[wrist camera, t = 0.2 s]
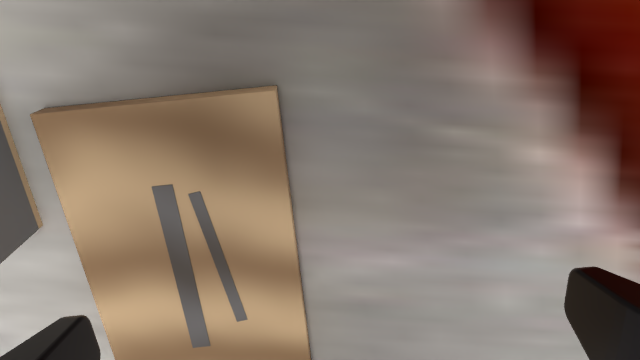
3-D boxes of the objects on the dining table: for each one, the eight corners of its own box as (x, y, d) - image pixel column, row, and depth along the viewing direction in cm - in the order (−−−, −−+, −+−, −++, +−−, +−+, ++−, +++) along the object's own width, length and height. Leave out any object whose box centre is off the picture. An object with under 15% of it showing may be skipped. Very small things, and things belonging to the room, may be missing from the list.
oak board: (312, 371, 28) (313, 388, 27) (138, 390, 28) (131, 407, 27) (276, 85, 21) (275, 90, 20) (44, 108, 21) (29, 114, 20)
